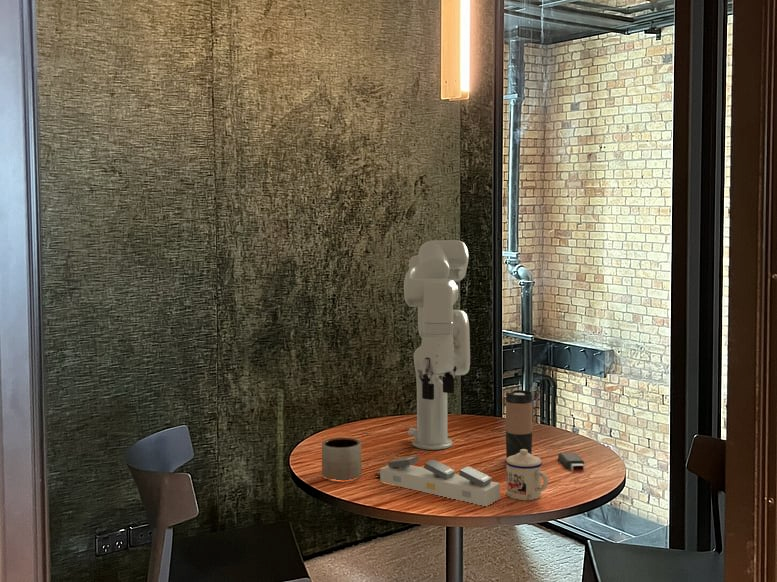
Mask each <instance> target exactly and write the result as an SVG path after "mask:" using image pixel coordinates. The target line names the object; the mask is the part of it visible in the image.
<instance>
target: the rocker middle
mask: <svg viewBox="0 0 777 582" xmlns="http://www.w3.org/2000/svg"><path fill="white" fill-rule="evenodd" d="M423 468H425V469H427V470H429V471H431V472H433V473H435V474H436V475H438V476H440V477H442V478H444V479H448V478H450V477H452V476H454V475H455V474H456V470H455V469H453V468H451V467H450V466H447V465H446V464H443V463H441V462H439V461H437V460H436V459H434V458H433V459H431V460H428V461H426V462H424V464H423Z"/></svg>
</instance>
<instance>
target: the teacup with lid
mask: <svg viewBox="0 0 777 582" xmlns="http://www.w3.org/2000/svg"><path fill="white" fill-rule="evenodd" d="M505 464H506V495H507V496H508V497H509V498H511V499H513V500H517V499H518V500H517V501H534V499H535V500H537V499H540V497H541V496H542V492H544V491H545V490H546V488H548V484H549V480H548V479H549V478H548V476H547V474H546V473H544V471H542V465H543V461H542V459H541V458H539V457H538V456H535V455H533V454H532V455H531V454H529V453H528V450H526V449H521V450H520V453H517V454H515V455H512V456H509V457H508V458H507V457H506V460H505ZM542 479H543V483H542ZM542 484H543V485H542Z"/></svg>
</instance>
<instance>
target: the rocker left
mask: <svg viewBox="0 0 777 582" xmlns="http://www.w3.org/2000/svg"><path fill="white" fill-rule="evenodd" d="M418 462H419V458H418V455H416V456H409V457H400V458H395V459H393V460H391V461H388V462H387V463H388V464H387V465H389V468H390V467H398V466H407V465H414V464H416V463H418Z"/></svg>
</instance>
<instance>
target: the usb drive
mask: <svg viewBox="0 0 777 582" xmlns="http://www.w3.org/2000/svg"><path fill="white" fill-rule="evenodd" d="M557 460H558V461H559V462H560V463H561V465H562V466H564V468H566V469H568V470H571V471H572V472H585V461H584V460H583V459H582V458H581V456H579V455H578V454H577V453H576V452H559V453H558V457H557Z"/></svg>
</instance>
